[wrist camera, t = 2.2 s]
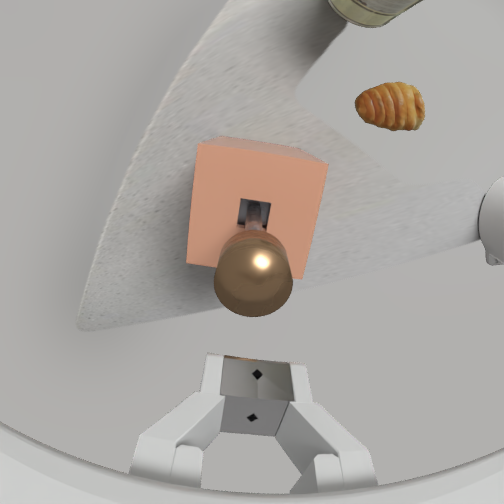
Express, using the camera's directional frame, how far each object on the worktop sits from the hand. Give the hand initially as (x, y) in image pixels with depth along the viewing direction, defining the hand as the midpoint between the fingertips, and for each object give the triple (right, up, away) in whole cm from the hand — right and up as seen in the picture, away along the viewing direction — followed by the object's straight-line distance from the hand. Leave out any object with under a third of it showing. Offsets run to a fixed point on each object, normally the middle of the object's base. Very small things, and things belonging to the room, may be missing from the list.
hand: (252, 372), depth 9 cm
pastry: (+18, +23, +26) cm, 39 cm away
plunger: (0, +7, +17) cm, 19 cm away
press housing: (0, +13, +30) cm, 33 cm away
